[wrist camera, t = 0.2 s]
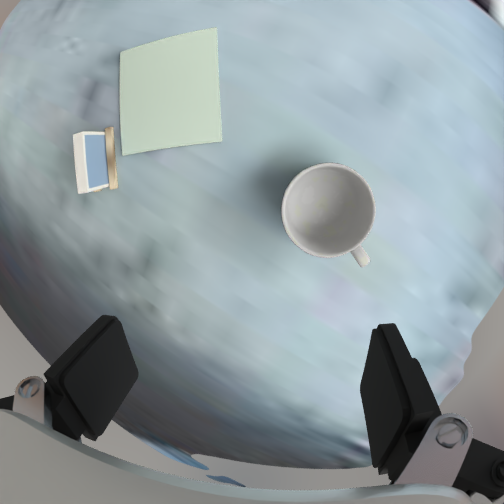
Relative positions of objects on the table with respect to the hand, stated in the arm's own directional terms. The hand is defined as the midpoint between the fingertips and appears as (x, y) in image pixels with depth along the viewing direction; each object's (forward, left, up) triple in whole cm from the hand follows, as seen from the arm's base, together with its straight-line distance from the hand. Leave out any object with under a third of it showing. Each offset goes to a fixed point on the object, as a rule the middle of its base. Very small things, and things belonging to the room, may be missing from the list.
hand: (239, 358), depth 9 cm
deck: (-9, -27, -31) cm, 42 cm away
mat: (-18, -15, -31) cm, 39 cm away
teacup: (+1, +7, -31) cm, 32 cm away
